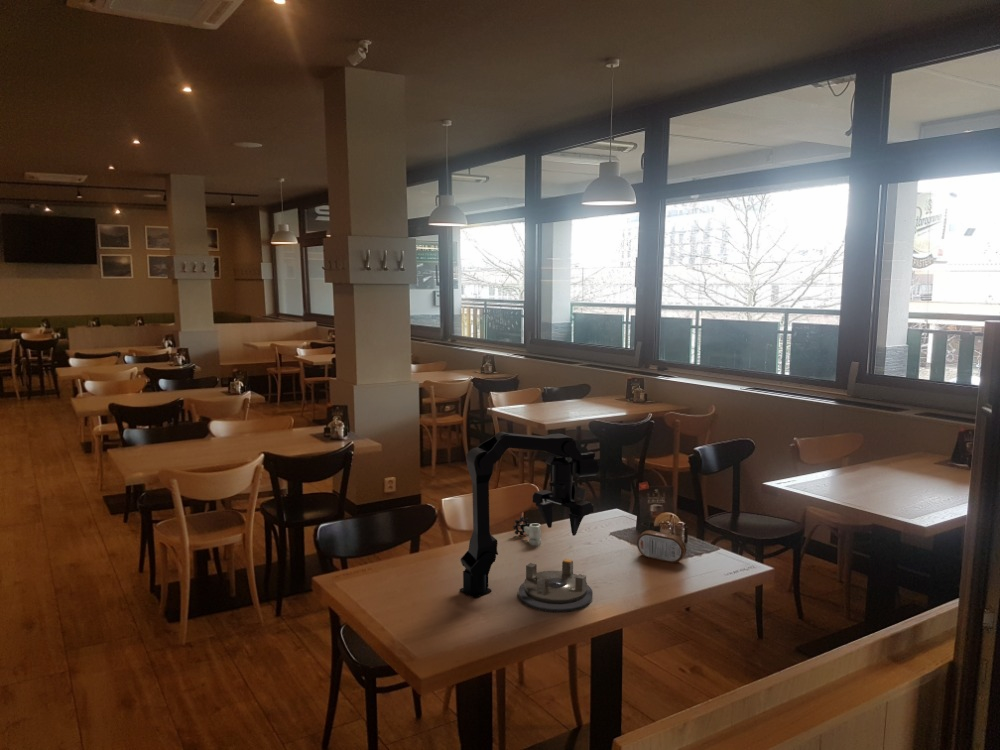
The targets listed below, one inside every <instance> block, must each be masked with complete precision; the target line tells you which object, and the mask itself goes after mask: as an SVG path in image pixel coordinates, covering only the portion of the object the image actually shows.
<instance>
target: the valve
mask: <svg viewBox="0 0 1000 750" xmlns="http://www.w3.org/2000/svg"><path fill="white" fill-rule="evenodd" d="M529 520H530V519H529V518H528V517H525V518H524V517H523V516H522V515H521V516H519V520H518V519H515V520H514V523H515V525H513V526H512V529H513V530H515V531H514V534H515V535H520V536H521V535H523V536H524V535H525V533H526V536H528V539H529V540H528V544H529V545H530V546H533V547H538V546H540V545H541V544H542V539H541V538H542V531H541V530H542V525H541V524H540V523H529ZM519 528H520V529H519Z"/></svg>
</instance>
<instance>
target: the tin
mask: <svg viewBox="0 0 1000 750" xmlns="http://www.w3.org/2000/svg"><path fill="white" fill-rule="evenodd" d="M636 541H637V542H636V545H637V550H638V551H639V552H640V554H641V555H643V556H644V557H646V558H647V557H648V559H651V558H652V560H656V561H661V562H665V561H667V563H670V562H671V564H675V563H678V562H680V561H681V560H682V559H683V558H684V557H685V555H686V553H687V547H686V544H685V542H684V540H682V538H680V537H679V536H678V535H675V534H671V533H666V532H660V531H655V530H649V529H648V530H647V529H646V530H644V531H642V532H641V534H640V535H639V536H638V538H637V540H636Z"/></svg>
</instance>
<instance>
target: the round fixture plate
mask: <svg viewBox="0 0 1000 750" xmlns="http://www.w3.org/2000/svg"><path fill="white" fill-rule="evenodd" d="M561 563H562V564H561V567H562V568H561V570H544V571H538V572H537V567H538V566H537V563H534V562H533V563H532V562H529V563H528V564H527V565H525V579H524V581H523V583H524V591H525V593H526V595H527V596H529V597H530V598H532V599H534V600H537V601H540V602H544V603H552V604H564V603H571V602H575V601H578V600H580V599H582V598H583V597H585V596H586V594H587V585H588V583H587V575H586V574H581V573H578V574H576V573H574V560H573V559H567V558H565V559H564V560H562V562H561Z"/></svg>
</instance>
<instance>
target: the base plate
mask: <svg viewBox="0 0 1000 750" xmlns="http://www.w3.org/2000/svg"><path fill="white" fill-rule="evenodd" d="M593 598H594V597H593V589H592V587H591V586H590V585H589V584H587V594H586V596H585V597H583V598H582V599H580V600H578V601H575V602H571V603H564V604H552V603H544V602H540V601H537V600H534V599H532V598H530V597H529V596H527V595H526V593H525V591H524V582H522V583H521V584H520V586H519V588H518V599H519V600H520V601H521V602H522V604H524V605H526V606H527V607H529V608H532V609H534V610H538V611H540V612H541V611H542V612H546V613H568V612H574V611H578V610H581V609H584V608H585V607H588V606H589V605H590V604H591V602H592V601H593Z"/></svg>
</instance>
